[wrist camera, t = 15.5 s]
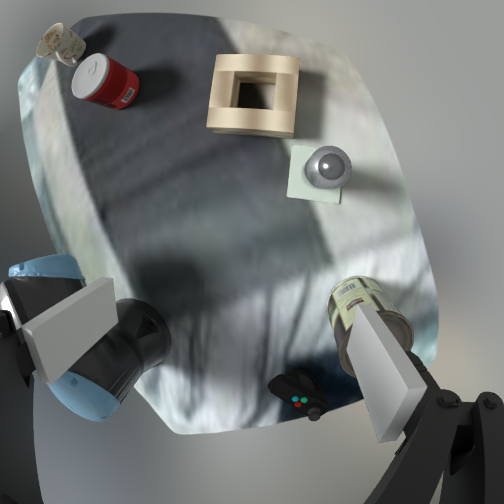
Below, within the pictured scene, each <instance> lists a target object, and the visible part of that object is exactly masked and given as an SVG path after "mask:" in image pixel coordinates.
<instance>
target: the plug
mask: <svg viewBox="0 0 504 504" xmlns="http://www.w3.org/2000/svg"><path fill="white" fill-rule="evenodd" d="M351 171H352V166H351V162H350V159H349V157H348V156H347V154H346V153H345V152H344V151H343V150H341V149H340V148H337V147H334V146H324V147H321V148H319V149H317V150H316V151H315V152H314V153H313V154H312V155H311V157H310V158H309V159H308V160H307V161H306V163H305V164H304V165H303V167H302V169H301V178H302V180H303V182H304V183H305V184H306V185H307V186H309V187H311V188H318V189H336V188H339V187H341V186H343V185H344V184H345V183H346V182H347V181H348V180H349V178H350V176H351Z"/></svg>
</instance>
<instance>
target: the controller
mask: <svg viewBox="0 0 504 504" xmlns="http://www.w3.org/2000/svg"><path fill="white" fill-rule="evenodd" d="M268 388H269V390H270V392H271V393H273V394H274V395H276V396H278V397H279V398H281V399H282V400H284V401H286V402H287V403H289V404H291V405H292V406H294V407H296V408H297V410H298V411H300V412H302V413H304V414H306V415H308V418H309V420H311V421H317V420H318V419H320V416H322V415H323V414H325V413H326V412H327V411H328V410H329V408H330V407H329V406H328V401H327V399H326V396H325V393H324V391H323V389H322V387H321V385H320V384H319V382H318V381H317V380H316V379H315V378H314V377H313V376H312V375H311V374H310V373H308V372H306V371H304V370H302V369H292V370H290V371H289V372H288V373H286V374H285V375H284V374H280V375H277V376H276V377H275V378H273V379H272V380H271V381H270V382H269V383H268Z"/></svg>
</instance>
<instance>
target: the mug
mask: <svg viewBox="0 0 504 504" xmlns="http://www.w3.org/2000/svg"><path fill="white" fill-rule="evenodd" d="M85 48H86V43H85V41H84V40H82V39H81V38H80V37H79V36H77V35H76V34H75V33H74V32H73V31H71V30H70V29H69V28H68V27H66V26H65V25H64V24H62V23H57V24H55V25H53V26H52V27H51V28H50V29H49V30H48V31H47V32H46V33H45V34H44V36H43V37H42V39H41V41H40V42H39V45H38V47H37V56H38V57H41V58H46V59H52V60H57V61H62V62H63V63H64V64H66V65H67V66H70V67H76V66H77V60H78V59H79V58H80V57H81V56H82V54H83V53H84V51H85Z"/></svg>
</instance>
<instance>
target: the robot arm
mask: <svg viewBox="0 0 504 504" xmlns="http://www.w3.org/2000/svg"><path fill="white" fill-rule="evenodd" d="M9 277H11V278H10V279H8V280H6V281H4V282H2V283H1V285H0V504H44V503H43V500H42V496H41V491H40V486H39V480H38V473H37V466H36V458H35V448H34V431H33V391H34V377H33V375H32V372H33V371H34V370H36V371H37V373H38V376H39V378H40V380H41V381H43V382H45V383H47V384H48V386H49V388H50V389H51V391H52V392H53V393H54V395H55V396H56V397H57V398H58V399H59V400H60V401H61V402H62V403H63V404H64V405H65V406H67V407H68V408H69V409H70V410H72V411H73V412H75V413H76V414H78V415H80V416H82V417H84V418H86V419H89V420H92V421H104V420H106V419H108V418H109V417H110V416H111V415H112V414H113V413H114V411H115V410H116V409H118V408H119V406H120V404H121V402H122V401H123V400H124V398H125V397H126V395H127V394H128V393H129V391H130V390H131V388H132V387H133V386H134V384H135V383H136V382H137V380H138V379H139V377H140V376H141V375H142V373H144V372H145V371H147V370H149V369H150V368H152V367H155V366H157V365H159V364H160V363H161V362H162V361H163V360H164V359H165V357H166V356H167V354H168V352H169V350H170V346H171V338H170V334H169V331H168V328H167V326H166V324H165V322H164V321H163V319H162V318H161V317H160V316H159V314H158V313H157V312H156V311H155V310H153V309H152V308H151V307H150V306H148V305H147V304H145V303H143V302H141V301H138V300H135V299H121V300H119V301H117V302H115V293H114V284H113V278H106V277H101V278H100V279H98V280H96V281H94V282H93V283H91V284H89V285H88V286H87V285H86V282H85V277H84V276H83V275H82V273H81V270H80V268H79V266H78V263H77V260H76V259H75V257H74V256H72V255H71V254H68V253H60V254H54V255H49V256H44V257H40V258H36V259H33V260H29V261H26V262H24V263H21V264H17V265H14V266H13V267H11V268H10V269H9ZM346 350H347V353H348V355H349V358H350V361H351V363H352V366H353V369H354V371H355V374H356V377H357V380H358V382H359V385H360V388H361V391H362V394H363V397H364V399H365V402H366V405H367V408H368V411H369V414H370V417H371V420H372V423H373V426H374V429H375V432H376V436H377V439H378V442H379V443H382V442H388V441H395V440H397V439H398V437H399V436H400V434H401V433H402V431H404V433H405V435H406V438H405V440H404V441H403V443H402V444H401V446H400V447H399V449H398V450H397V451H396V453H395V457H394V459H393V461H392V462H391V464H390V466H389V467H388V469H387V471H386V472H385V474H384V475H383V477H382V478H381V480H380V481H379V483H378V484H377V486H376V487H375V489H374V490H373V492H372V493H371V494H370V496H369V497H368V498H367V500H366V501H365V503H364V504H429V503H430V501H431V499H432V496H433V495H434V492H435V490H436V488H437V485H438V483H439V480H440V478H441V475H442V473H443V470H444V473H443V482H442V489H441V496H440V502H439V504H504V404H503V401H502V399H501V398H500V397H499V396H498V395H497V394H495V393H492V392H483V393H481V394H480V395H479V396H478V398H477V400H476V401H475V402H462V401H461V399H460V398H459V396H458V395H457V394H456V393H454V392H452V391H450V390H445V389H440V387H439V386H438V385H437V383H436V381H435V380H434V379H433V377H432V376H431V374H430V373H429V372H428V371H427V368H426V367H425V366H423V363H422V361H421V360H420V359H419V357H418V356H416V355H415V354H414V353H412V352H411V351H404V350H403V349H402V347H401V346H400V344H399V343H398V342H397V340H396V339H395V337H394V336H393V334H392V333H391V332H390V330H389V329H388V327H387V326H386V325H385V323H384V322H383V320H382V319H381V318H380V316H379V315H378V313H377V312H376V311H375V309H374V308H373V307H372V305H365V304H357V309H356V313H355V318H354V322H353V326H352V330H351V334H350V338H349V342H348V346H347V349H346Z"/></svg>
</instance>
